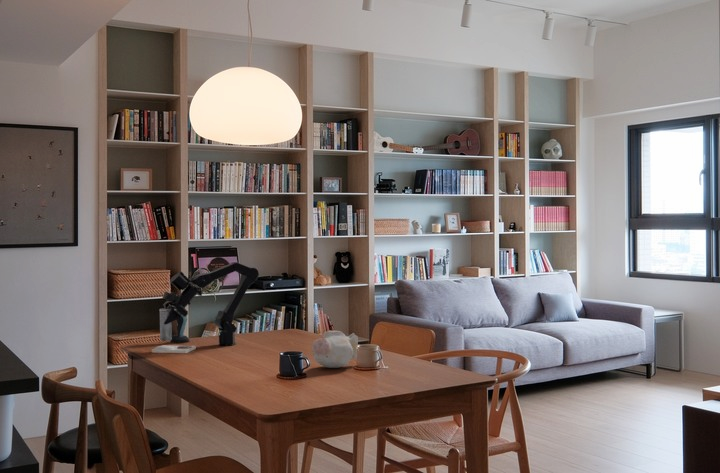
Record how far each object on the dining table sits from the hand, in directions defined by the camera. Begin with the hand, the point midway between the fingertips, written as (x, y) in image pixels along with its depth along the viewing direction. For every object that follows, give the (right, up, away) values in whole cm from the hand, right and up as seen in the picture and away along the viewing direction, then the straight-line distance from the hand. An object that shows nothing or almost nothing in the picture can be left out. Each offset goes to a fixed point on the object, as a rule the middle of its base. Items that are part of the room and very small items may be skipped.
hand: (162, 323), depth 348 cm
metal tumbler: (+1, -8, +1) cm, 8 cm away
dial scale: (+5, -12, +1) cm, 13 cm away
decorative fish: (+79, -13, -44) cm, 91 cm away
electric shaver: (0, -12, +26) cm, 29 cm away
